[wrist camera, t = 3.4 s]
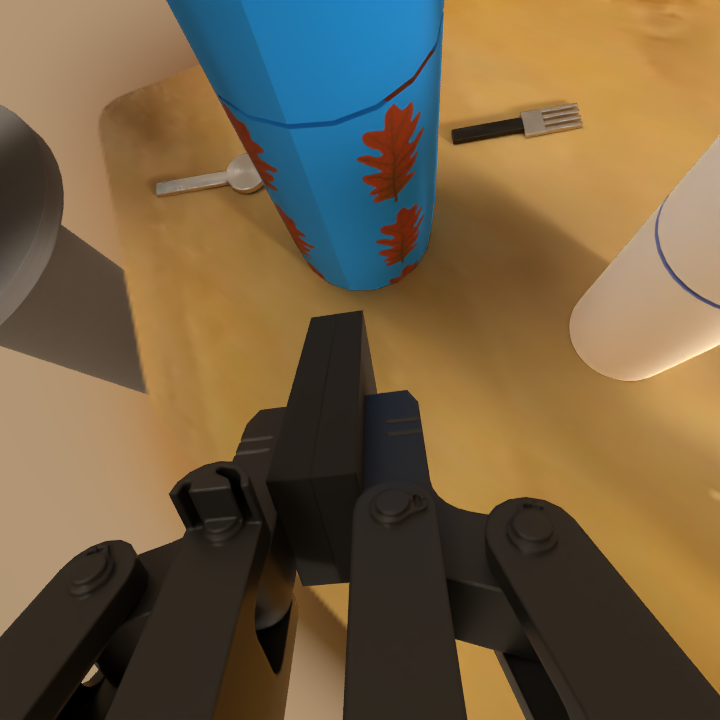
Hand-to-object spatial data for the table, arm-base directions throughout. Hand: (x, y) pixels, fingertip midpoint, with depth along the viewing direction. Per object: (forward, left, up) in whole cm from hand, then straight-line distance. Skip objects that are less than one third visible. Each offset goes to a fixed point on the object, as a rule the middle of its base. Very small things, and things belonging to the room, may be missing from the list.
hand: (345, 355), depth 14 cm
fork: (+13, +23, -19) cm, 33 cm away
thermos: (0, +16, -20) cm, 25 cm away
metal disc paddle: (-13, +23, -19) cm, 32 cm away
